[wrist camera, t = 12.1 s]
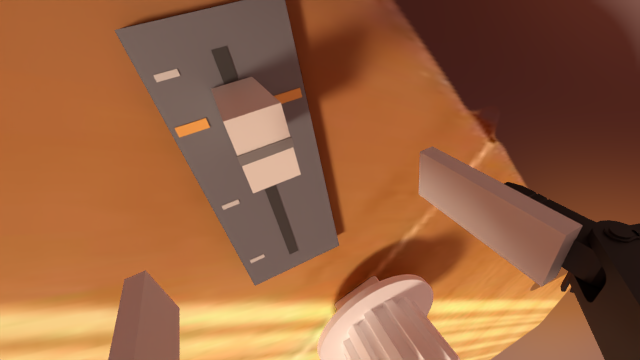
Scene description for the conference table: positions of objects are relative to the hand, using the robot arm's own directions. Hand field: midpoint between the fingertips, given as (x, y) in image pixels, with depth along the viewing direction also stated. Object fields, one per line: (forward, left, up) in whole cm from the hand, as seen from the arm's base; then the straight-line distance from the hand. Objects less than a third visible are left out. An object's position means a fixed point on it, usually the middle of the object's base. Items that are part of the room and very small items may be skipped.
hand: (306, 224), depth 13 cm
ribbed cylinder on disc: (+10, -46, -21) cm, 52 cm away
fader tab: (0, 0, -19) cm, 19 cm away
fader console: (0, -8, -21) cm, 23 cm away
